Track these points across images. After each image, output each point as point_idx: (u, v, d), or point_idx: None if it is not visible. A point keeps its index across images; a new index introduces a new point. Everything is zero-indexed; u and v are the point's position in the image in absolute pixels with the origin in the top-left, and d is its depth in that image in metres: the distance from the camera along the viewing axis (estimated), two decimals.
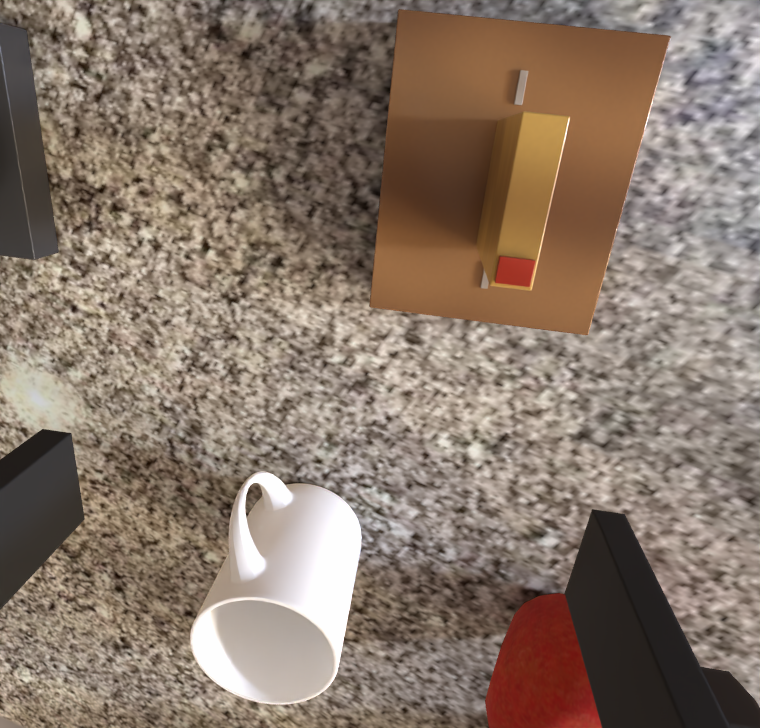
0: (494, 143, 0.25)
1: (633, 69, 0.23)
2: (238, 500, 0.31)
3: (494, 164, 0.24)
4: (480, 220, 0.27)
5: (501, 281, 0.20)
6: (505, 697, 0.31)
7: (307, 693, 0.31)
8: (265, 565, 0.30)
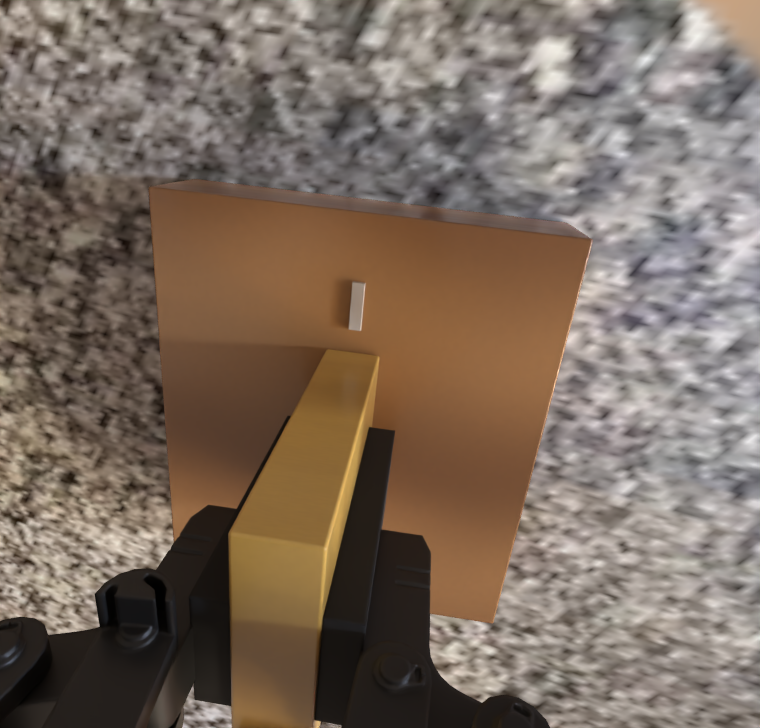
0: None
1: (533, 285, 0.14)
2: None
3: None
4: None
5: None
6: None
7: None
8: None
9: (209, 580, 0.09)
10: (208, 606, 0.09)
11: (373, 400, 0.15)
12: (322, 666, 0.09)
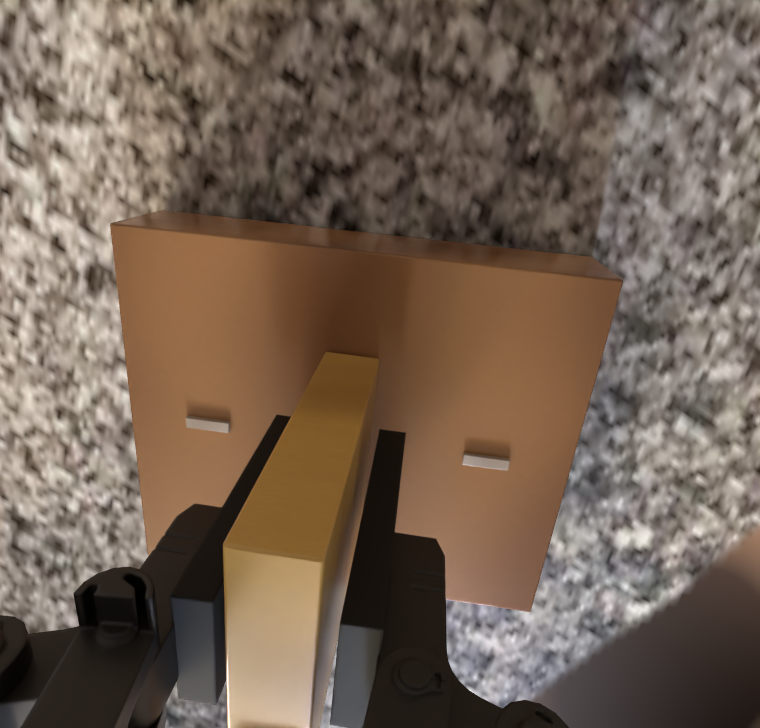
0: None
1: (497, 580, 0.18)
2: None
3: None
4: None
5: None
6: None
7: None
8: None
9: (191, 579, 0.09)
10: (189, 605, 0.09)
11: (373, 404, 0.15)
12: (339, 670, 0.09)
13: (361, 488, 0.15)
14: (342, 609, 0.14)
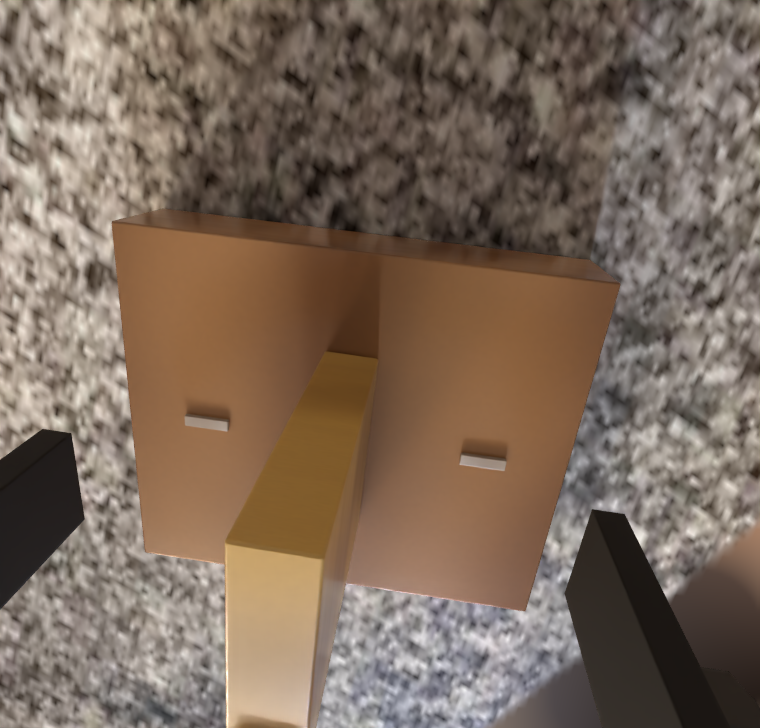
0: None
1: (492, 580, 0.18)
2: None
3: None
4: None
5: None
6: None
7: None
8: None
9: None
10: None
11: (371, 403, 0.15)
12: None
13: (359, 487, 0.15)
14: (339, 607, 0.14)
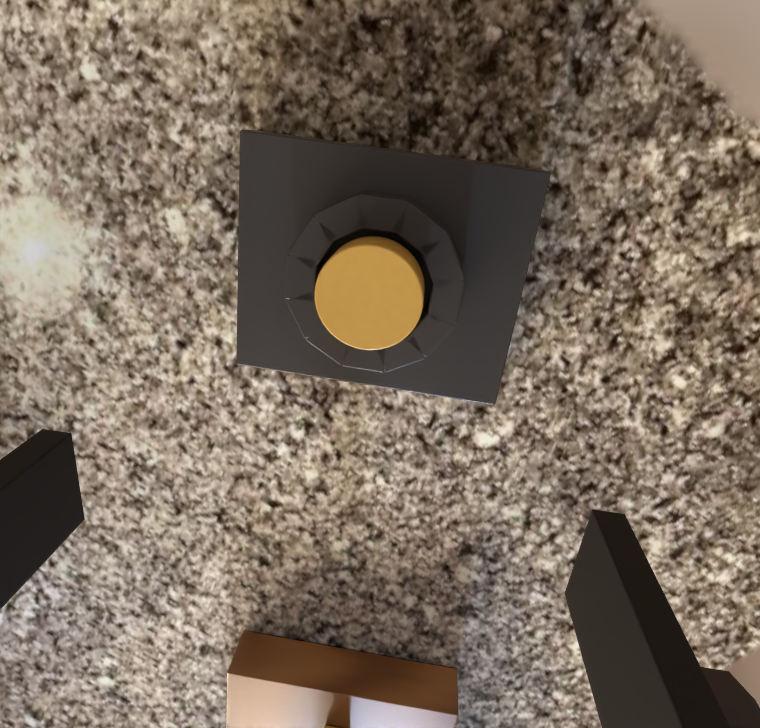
0: None
1: None
2: None
3: None
4: None
5: None
6: None
7: None
8: None
9: None
10: None
11: None
12: None
13: None
14: None
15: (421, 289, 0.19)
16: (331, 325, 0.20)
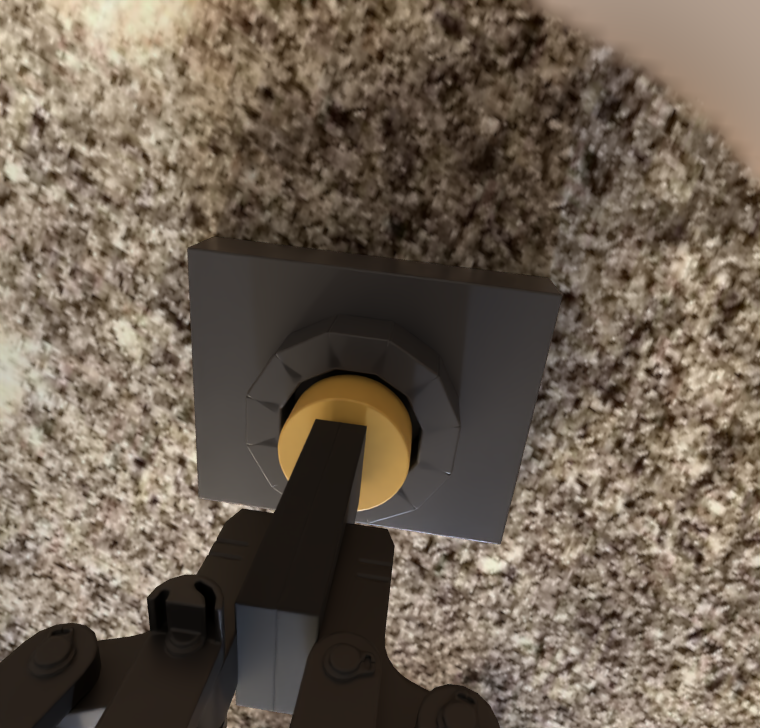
0: None
1: None
2: None
3: None
4: None
5: None
6: None
7: None
8: None
9: (253, 585, 0.09)
10: (254, 612, 0.09)
11: None
12: (279, 657, 0.09)
13: None
14: None
15: (406, 448, 0.15)
16: None
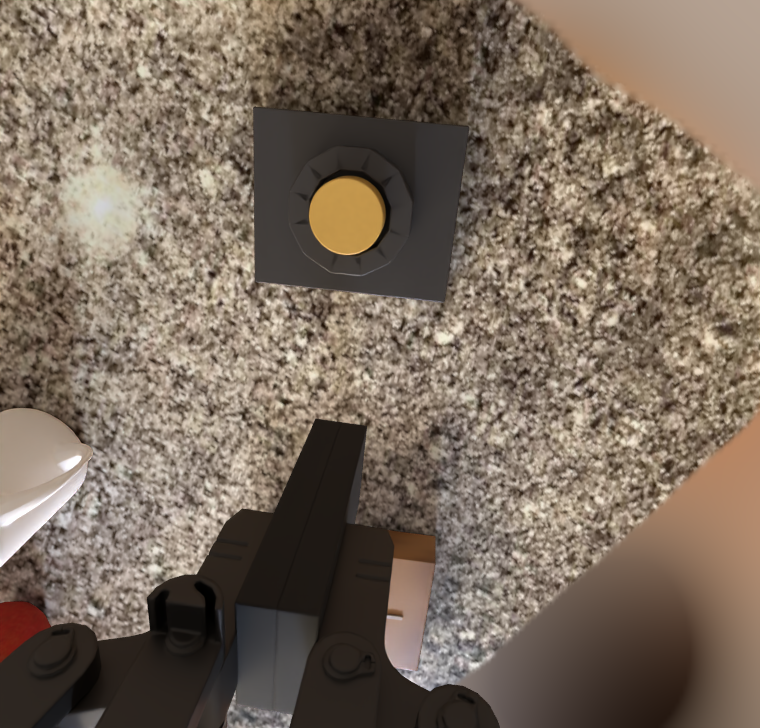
0: None
1: (402, 659, 0.44)
2: (66, 480, 0.35)
3: None
4: None
5: None
6: None
7: None
8: (13, 521, 0.34)
9: (253, 586, 0.09)
10: (254, 612, 0.09)
11: None
12: (279, 657, 0.09)
13: None
14: None
15: (381, 208, 0.28)
16: (321, 237, 0.28)
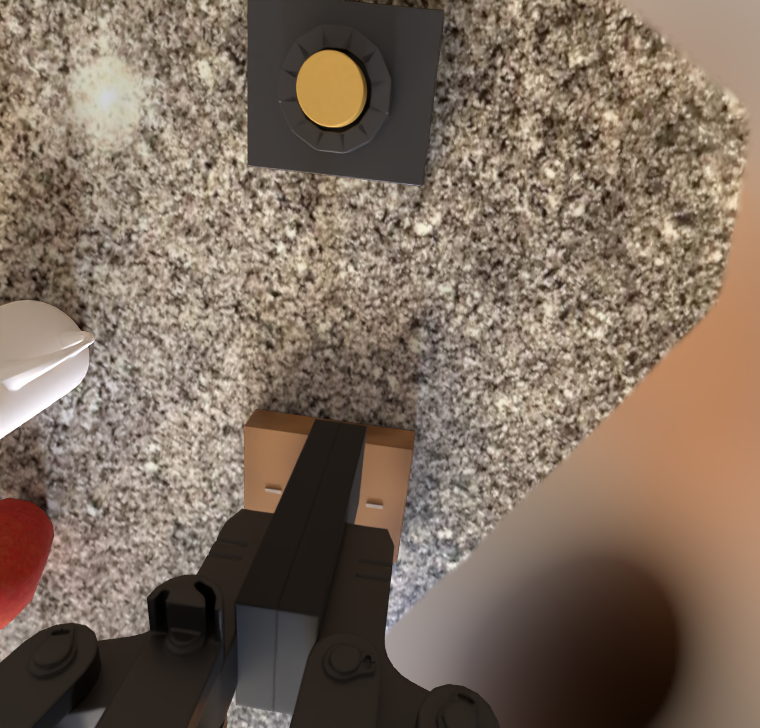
0: None
1: None
2: (70, 353, 0.38)
3: None
4: None
5: None
6: None
7: None
8: (20, 388, 0.37)
9: (253, 585, 0.09)
10: (254, 612, 0.09)
11: None
12: (279, 657, 0.09)
13: None
14: None
15: (362, 79, 0.30)
16: (307, 109, 0.31)
